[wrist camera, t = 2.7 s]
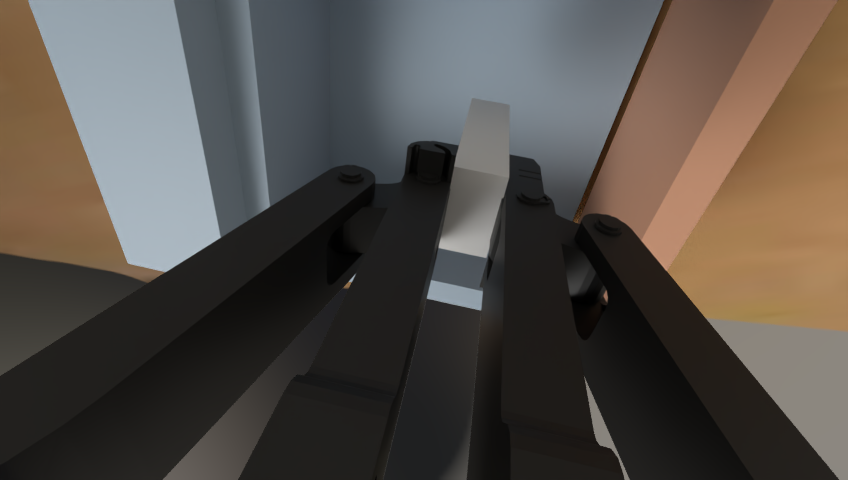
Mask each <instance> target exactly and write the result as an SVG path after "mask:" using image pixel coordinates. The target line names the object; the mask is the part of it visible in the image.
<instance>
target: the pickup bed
mask: <svg viewBox="0 0 848 480" xmlns="http://www.w3.org/2000/svg"><path fill="white" fill-rule="evenodd" d="M28 1H29V4H30V7H31V9H32V12H33V15H34V17H35V20H36V22H37V25H38V28H39V30H40V33H41V36H42V38H43V41H44V43H45V46H46V49H47V51H48V54H49V57H50V59H51V62H52V65H53V67H54V70H55V72H56V75H57V78H58V80H59V83H60V86H61V88H62V91H63V94H64V96H65V99H66V101H67V104H68V107H69V109H70V112H71V115H72V117H73V120H74V122H75V125H76V128H77V130H78V133H79V136H80V138H81V141H82V144H83V146H84V149H85V151H86V154H87V157H88V159H89V162H90V165H91V167H92V170H93V173H94V175H95V178H96V180H97V183H98V186H99V188H100V191H101V194H102V196H103V199H104V201H105V204H106V207H107V209H108V212H109V215H110V217H111V220H112V223H113V225H114V228H115V230H116V233H117V236H118V238H119V241H120V244H121V246H122V249H123V252H124V254H125V257H126V259H127V262H128V264H132V265H137V266H141V267H146V268H150V269H155V270H159V271H163V272H167V271H168V270H170V269H172V268H173V267H175V266H176V265H178V264H180V263H181V262H183V261H184V260H186V259H188V258H189V257H191V256H192V255H194V254H195V253H197V252H199V251H200V250H202V249H203V248H205V247H207V246H208V245H210V244H211V243H213V242H215V241H216V240H218V239H219V238H221V237H223V236H224V235H226V234H227V233H229V232H231V231H232V230H234V229H235V228H237V227H239V226H240V225H242V224H243V223H245V222H246V221H248V220H250V219H251V218H253V217H254V216H256V215H258V214H259V213H261V212H262V211H264V210H266V209H267V208H269V207H270V206H272V205H274V204H275V203H277V202H278V201H280V200H282V199H283V198H285V197H286V196H288V195H289V194H291V193H293V192H294V191H296V190H297V189H299V188H301V187H302V186H304V185H305V184H307V183H309V182H310V181H312V180H313V179H315V178H317V177H318V176H320V175H321V174H323V173H325V172H326V171H328V170H329V169H332V168H334V167H336V166H343V165H357V166H359V167H363V168H366V169H368V170H370V171H371V172H372V173H373V174H374V175H375V179H376V181H375V183H377V184H392V183H399V182H401V180H402V178H403V176H404V173H405V164H406V156H407V147H408V145H410V144H411V143H413V142H417V141H432V140H433V141H438V142H443V143H448V144H453V145H459V144H460V140H461V137H462V133H463V129H464V126H465V122H466V118H467V115H468V111H469V107H470V104H471V100H472V98H476V99H481V100H487V101H492V102H497V103H503V104H508V105H510V125H509V154H511V155H516V156H521V157H526V158H531V159H534V160H535V161H536V162H537V163H538V165H539V166H540V168H541V175H542V182H543V189H544V194H546V195H547V196H548V197H550V198H551V199H552V201H553V203H554V206H555V212H556V214H557V215H559V216H561V217H563V218H565V219H567V220H570V221H573V218H574V216H575V214H576V211H577V209H578V206H579V204H580V201H581V199H582V197H583V194H584V192H585V189H586V187H587V185H588V182H589V180H590V177H591V175H592V173H593V170H594V168H595V165H596V163H597V160H598V158H599V156H600V153H601V151H602V148H603V146H604V144H605V141H606V139H607V136H608V134H609V132H610V129H611V127H612V124H613V122H614V120H615V117H616V115H617V112H618V110H619V107H620V105H621V103H622V100H623V98H624V95H625V93H626V91H627V88H628V86H629V83H630V81H631V79H632V76H633V74H634V71H635V69H636V66H637V64H638V62H639V59H640V57H641V54H642V52H643V50H644V47H645V45H646V42H647V40H648V38H649V35H650V33H651V30H652V28H653V25H654V23H655V21H656V18H657V16H658V13H659V11H660V9H661V6H662V4H663V1H664V0H28ZM488 255H489V250H488V254H487V257H486V258H484V257H479V256H474V255H470V254H465V253H460V252H455V251H451V250H446V249H441V248H438V253H437V258H436V262H435V266H434V270H433V275H432V279H431V283H430V287H429V291H428V295H427V299H432V300H436V301H441V302H445V303H450V304H454V305H459V306H463V307H468V308H473V309H477V310H481V307H482V295H483V288H481V287H480V283H481V280H482V276H483V273H484V269H485V266H486V262H487V259H488ZM355 275H356V274H355ZM355 275H354V276H353V277H352V278H351V279H350V282H352V281H353V279H354V277H355Z"/></svg>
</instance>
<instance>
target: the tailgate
mask: <svg viewBox="0 0 848 480" xmlns="http://www.w3.org/2000/svg"><path fill="white" fill-rule="evenodd" d="M837 1H838V0H672V2H671V5H670V7H669V10H668V12H667V14H666V17H665V19H664V21H663V24H662V26H661V28H660V31H659V33H658V35H657V38H656V40H655V42H654V45H653V47H652V49H651V52H650V54H649V57H648V59H647V61H646V64H645V66H644V68H643V71H642V73H641V75H640V78H639V80H638V82H637V85H636V87H635V89H634V92H633V94H632V96H631V99H630V101H629V104H628V106H627V108H626V111H625V113H624V115H623V118H622V120H621V122H620V125H619V127H618V129H617V132H616V134H615V136H614V139H613V141H612V144H611V146H610V148H609V151H608V153H607V155H606V158H605V160H604V162H603V165H602V167H601V169H600V172H599V174H598V176H597V179H596V181H595V183H594V186H593V188H592V191H591V193H590V195H589V198H588V200H587V202H586V205H585V207H584V209H583V212H582V214H581V216H580V219H579V221H578V224H580V223H581V221H582V219H583V217H584V216H585V215H587V214H592V213H599V214H607V215H611V217H612V216H613V217H616V218H618V219H619V220H620V221H622V222H624V223H626V224H627V225H628V226H629V227H630V228H631V229H632V230H633V231H634V232H635V234H636V235H637V236H638V237H639V238H640V240H641V241H642V242H643V243H644V244H645V246H646V247H647V248H648V249H649V250H650V252H651V253H652V254H653V255H654V257H655V258H656V259H657V260H658V261H659V263H660V264H661V265H662V266H663V267H664V269H665V270H666V271H667V270H668V268H669V267H670V265H671V263H672V262H673V260H674V259H675V257H676V255H677V254H678V252H679V251H680V249H681V248H682V246H683V244H684V243H685V241H686V240H687V238H688V237H689V235H690V233H691V232H692V230H693V229H694V227H695V225H696V224H697V222H698V221H699V219H700V218H701V216H702V214H703V213H704V211H705V210H706V208H707V206H708V205H709V203H710V202H711V200H712V199H713V197H714V195H715V194H716V192H717V191H718V189H719V187H720V186H721V184H722V183H723V181H724V180H725V178H726V176H727V175H728V173H729V172H730V170H731V168H732V167H733V165H734V164H735V162H736V161H737V159H738V157H739V156H740V154H741V153H742V151H743V150H744V148H745V146H746V145H747V143H748V142H749V140H750V138H751V137H752V135H753V134H754V132H755V131H756V129H757V127H758V126H759V124H760V123H761V121H762V119H763V118H764V116H765V115H766V113H767V112H768V110H769V108H770V107H771V105H772V104H773V102H774V100H775V99H776V97H777V96H778V94H779V93H780V91H781V89H782V88H783V86H784V85H785V83H786V81H787V80H788V78H789V77H790V75H791V74H792V72H793V70H794V69H795V67H796V66H797V64H798V63H799V61H800V59H801V58H802V56H803V55H804V53H805V51H806V50H807V48H808V47H809V45H810V44H811V42H812V40H813V39H814V37H815V36H816V34H817V32H818V31H819V29H820V28H821V26H822V25H823V23H824V21H825V20H826V18H827V17H828V15H829V13H830V12H831V10H832V9H833V7H834V6H835V4H836V2H837ZM604 298H605V300H606V301H607V300H608V296H607V291H606V292H605V294H604Z"/></svg>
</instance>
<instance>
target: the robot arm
mask: <svg viewBox="0 0 848 480" xmlns="http://www.w3.org/2000/svg"><path fill="white" fill-rule="evenodd" d="M509 125H510V105H508V104H503V103H497V102H492V101H487V100H481V99H476V98H472V100H471V104H470V107H469V111H468V115H467V118H466V122H465V126H464V129H463V133H462V137H461V140H460V144H459V145H453V144H448V143H443V142H438V141H433V140H432V141H417V142H413V143H411V144H410V145H408V147H407V156H406V164H405V173H404V176H403V178H402V180H401V182H399V183H392V184H377V183H375V181H376V179H375V175H374V174H373V173H372V172H371V171H370V170H368V169H366V168H363V167H359V166H357V165H343V166H336V167H334V168H332V169H329V170H328V171H326V172H325V173H323V174H321V175H320V176H318V177H317V178H315V179H313V180H312V181H310V182H309V183H307V184H305V185H304V186H302V187H301V188H299V189H297V190H296V191H294V192H293V193H291V194H289V195H288V196H286V197H285V198H283V199H282V200H280V201H278V202H277V203H275V204H274V205H272V206H270V207H269V208H267V209H266V210H264V211H262V212H261V213H259V214H258V215H256V216H254V217H253V218H251V219H250V220H248V221H246V222H245V223H243V224H242V225H240V226H239V227H237V228H235V229H234V230H232V231H231V232H229V233H227V234H226V235H224V236H223V237H221V238H219V239H218V240H216V241H215V242H213V243H211V244H210V245H208V246H207V247H205V248H203V249H202V250H200V251H199V252H197V253H195V254H194V255H192V256H191V257H189V258H188V259H186V260H184V261H183V262H181V263H180V264H178V265H176V266H175V267H173V268H172V269H170V270H168V271H167V272H165V273H164V274H162V275H160V276H159V277H157V278H156V279H154V280H152V281H151V282H149V283H148V284H146V285H144V286H143V287H141V288H140V289H138V290H137V291H135V292H133V293H132V294H130V295H129V296H127V297H125V298H124V299H122V300H121V301H119V302H117V303H116V304H114V305H113V306H111V307H109V308H108V309H106V310H105V311H103V312H102V313H100V314H98V315H97V316H95V317H94V318H92V319H90V320H89V321H87V322H86V323H84V324H83V325H81V326H79V327H78V328H76V329H74V330H73V331H71V332H70V333H68V334H66V335H65V336H63V337H62V338H60V339H58V340H57V341H55V342H54V343H52V344H51V345H49V346H47V347H46V348H44V349H43V350H41V351H39V352H38V353H36V354H35V355H33V356H31V357H30V358H28V359H27V360H25V361H23V362H22V363H20V364H19V365H17V366H15V367H14V368H12V369H11V370H9V371H8V372H6V373H4V374H3V375H1V376H0V480H163V478H164V477H165V476H166V475H167V474H168V473H169V472H170V471H171V470H172V469H173V468H174V467H175V466H176V465H177V464H178V463H179V461H180V460H181V459H182V458H183V457H184V456H185V455H186V454H187V453H188V452H189V451H190V450H191V449H192V448H193V447H194V446H195V444H196V443H197V442H198V441H199V440H200V439H201V438H202V437H203V436H204V435H205V434H206V433H207V432H208V431H209V430H210V429H211V427H212V426H213V425H214V424H215V423H216V422H217V421H218V420H219V419H220V418H221V417H222V416H223V415H224V414H225V413H226V411H227V410H228V409H229V408H230V407H231V406H232V405H233V404H234V403H235V402H236V401H237V400H238V399H239V398H240V397H241V396H242V394H243V393H244V392H245V391H246V390H247V389H248V388H249V387H250V386H251V385H252V384H253V383H254V382H255V381H256V380H257V378H258V377H259V376H260V375H261V374H262V373H263V372H264V371H265V370H266V369H267V368H268V367H269V366H270V365H271V363H272V362H273V361H274V360H275V359H276V358H277V357H278V356H279V355H280V354H281V353H282V352H283V351H284V350H285V348H287V347H288V345H289V344H290V343H291V342H292V341H293V340H294V339H295V338H296V337H297V336H298V335H299V334H300V333H301V332H302V331H303V330H304V328H305V327H306V326H307V325H308V324H309V323H310V322H311V321H312V320H313V318H315V317H316V316H317V314H318V313H319V312H320V311H321V310H322V309H323V308H324V307H325V306H326V305H327V304H328V303H329V302H330V301H331V300H332V298H334V296H335V295H336V294H337V293H338V292H339V291H340V290H341V289H342V288H343V287H344V286H345V285H346V284H347V283H348V282H349V281H350V279H351V278H352V277H353V276H354V275H355V274H356V275H355V277H354V279H353V281H352V283H351V285H350V287H349V289H348V291H347V294H346V295H345V297H344V300H343V302H342V304H341V306H340V308H339V310H338V312H337V314H336V316H335V318H334V320H333V322H332V325H331V326H330V328H329V331H328V332H327V335H326V337H325V339H324V341H323V343H322V345H321V347H320V349H319V351H318V353H317V355H316V357H315V360H314V361H313V363H312V365H311V367H310V369H309V371H308V372H307V373H306V374H305V375H296V377H294V378H293V379H292V380H291V381H290V383H289V384H288V386H287V388H286V390H285V391H284V393H283V395H282V397H281V399H280V400H279V402H278V404H277V406H276V408H275V410H274V412H273V414H272V416H271V418H270V419H269V421H268V423H267V425H266V427H265V429H264V431H263V433H262V435H261V437H260V439H259V441H258V443H257V445H256V446H255V449H254V450H253V452H252V454H251V456H250V458H249V460H248V462H247V464H246V466H245V468H244V470H243V472H242V474H241V475H240V477H239V479H238V480H383V478H384V473H385V469H386V465H387V461H388V457H389V452H390V448H391V444H392V440H393V436H394V432H395V428H396V424H397V419H398V415H399V411H400V407H401V403H402V399H403V395H404V390H405V386H406V382H407V378H408V374H409V370H410V366H411V362H412V357H413V353H414V349H415V345H416V341H417V337H418V332H419V328H420V324H421V320H422V316H423V312H424V308H425V304H426V299H427V295H428V291H429V287H430V283H431V279H432V275H433V270H434V266H435V262H436V258H437V253H438V248H441V249H446V250H451V251H455V252H460V253H465V254H470V255H474V256H479V257H484V258H486V257H487V254H488V250H489V255H488V259H487V262H486V266H485V269H484V273H483V276H482V280H481V283H480V287H481V288H483V295H482V307H481V320H480V331H479V343H478V353H477V366H476V377H475V388H474V399H473V411H472V423H471V435H470V446H469V457H468V470H467V480H624V475H623V472H622V469H621V466H620V463H619V460H618V458H617V456H616V455H615V453H614V452H613V451H612V449H610V448H607V447H603V446H600V445H599V444H598V442H597V441H596V438H595V434H594V431H593V425H592V419H591V413H590V408H589V402H588V396H587V390H586V384H585V379H584V376H585V378H586V381H587V383H588V386H589V388H590V390H591V392H592V395H593V397H594V399H595V401H596V404H597V406H598V408H599V410H600V413H601V415H602V417H603V420H604V422H605V424H606V426H607V429H608V431H609V433H610V436H611V438H612V440H613V442H614V445H615V447H616V449H617V451H618V454H619V456H620V458H621V460H622V463H623V465H624V467H625V470H626V472H627V474H628V476H629V478H630V480H839V479H838V478H837V477H836V475H835V474H834V473H833V472H832V471H831V469H830V468H829V467H828V466H827V464H826V463H825V462H824V461H823V460H822V458H821V457H820V456H819V455H818V454H817V452H816V451H815V450H814V449H813V448H812V446H811V445H810V444H809V443H808V441H807V440H806V439H805V438H804V437H803V436H802V434H801V433H800V432H799V431H798V429H797V428H796V427H795V426H794V425H793V423H792V422H791V421H790V420H789V419H788V417H787V416H786V415H785V414H784V412H783V411H782V410H781V409H780V408H779V406H778V405H777V404H776V403H775V402H774V400H773V399H772V398H771V397H770V396H769V394H768V393H767V392H766V391H765V390H764V388H763V387H762V386H761V385H760V383H759V382H758V381H757V380H756V379H755V377H754V376H753V375H752V374H751V373H750V371H749V370H748V369H747V368H746V367H745V365H744V364H743V363H742V362H741V360H740V359H739V358H738V357H737V356H736V354H735V353H734V352H733V351H732V350H731V349H730V347H729V346H728V345H727V344H726V342H725V341H724V340H723V339H722V338H721V336H720V335H719V334H718V333H717V331H716V330H715V329H714V328H713V327H712V325H711V324H710V323H709V322H708V321H707V319H706V318H705V317H704V316H703V315H702V313H701V312H700V311H699V310H698V308H697V307H696V306H695V305H694V304H693V302H692V301H691V300H690V299H689V298H688V296H687V295H686V294H685V293H684V292H683V290H682V289H681V288H680V287H679V286H678V284H677V283H676V282H675V281H674V279H673V278H672V277H671V276H670V275H669V273H668V272H667V271H666V270H665V269H664V267H663V266H662V265H661V264H660V263H659V261H658V260H657V259H656V258H655V257H654V255H653V254H652V253H651V252H650V250H649V249H648V248H647V247H646V246H645V244H644V243H643V242H642V241H641V240H640V238H639V237H638V236H637V235H636V234H635V232H634V231H633V230H632V229H631V228H630V227H629V226H628V225H627V224H626V223H624V222H622V221H620V220H619V219H618V218H616V217H613V216H612V217H611V215H607V214H599V213H592V214H587V215H585V216H584V217H583V219H582V221H581V223H580V224H578V223H575V222H573V221H570V220H567V219H565V218H563V217H561V216H559V215H557V214H556V212H555V206H554V203H553V201H552V199H551V198H550V197H548V196H547V195H546V194H544V189H543V182H542V175H541V168H540V166H539V165H538V163H537V162H536V161H535V160H534V159H531V158H526V157H521V156H516V155H511V154H509ZM606 291H607V296H608V300H607V301H606V300H605V298H604V294H605V292H606Z"/></svg>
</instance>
